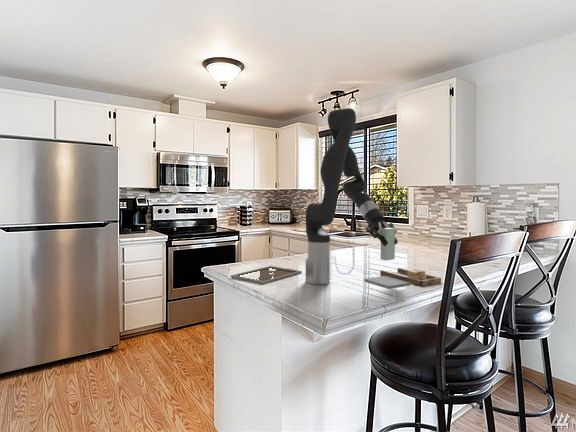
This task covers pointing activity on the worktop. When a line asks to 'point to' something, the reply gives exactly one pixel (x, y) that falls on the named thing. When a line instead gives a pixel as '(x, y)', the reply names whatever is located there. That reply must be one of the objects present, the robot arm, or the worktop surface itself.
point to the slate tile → (387, 281)
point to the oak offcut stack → (416, 274)
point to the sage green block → (389, 249)
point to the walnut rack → (429, 280)
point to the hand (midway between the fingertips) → (391, 244)
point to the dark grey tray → (265, 276)
